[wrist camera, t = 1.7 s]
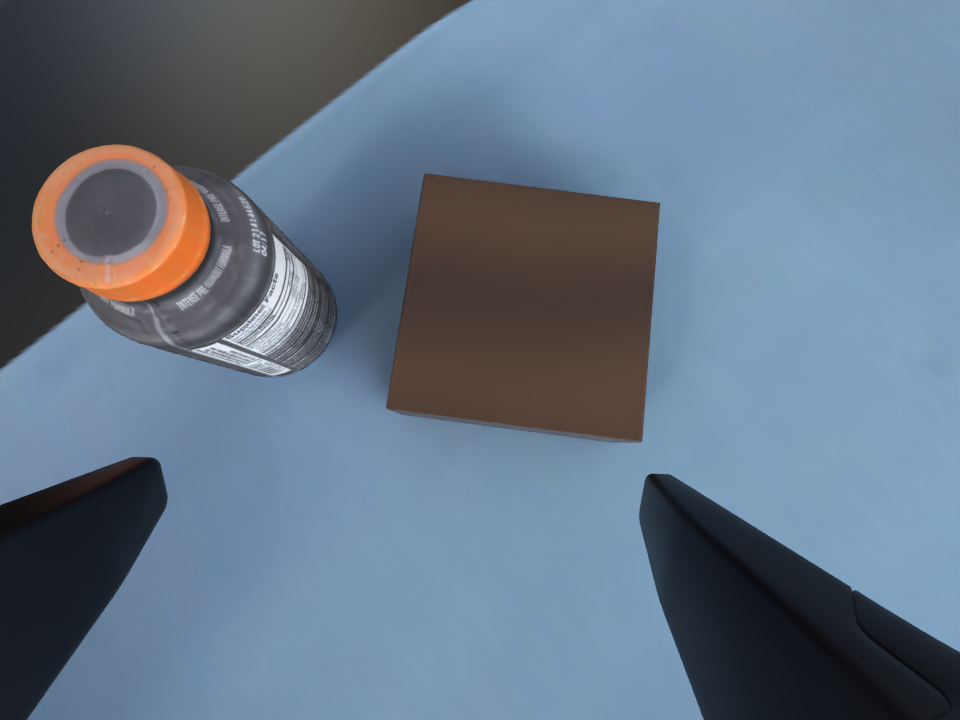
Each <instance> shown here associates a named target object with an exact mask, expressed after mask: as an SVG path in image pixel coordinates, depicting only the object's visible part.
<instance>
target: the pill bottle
mask: <svg viewBox="0 0 960 720" xmlns="http://www.w3.org/2000/svg"><path fill="white" fill-rule="evenodd" d="M32 233H33V237H34V241H35V244H36V247H37V250H38V252H39V254H40V255H41V258H42V259H43V260H44V261H45V262H46V263H47V265H48V266H49V267H50V268H51V269H52V270H53V271H54V272H55V273H56V274H58V275H59V276H61V277H62V278H64V279H66V280H67V281H69V282H71V283H74V284H76V285H78V286H80V289H81V292H82V294H83V296H84V298H85V300H86V302H87V303H88V305H89V306H90V307H91V309H92V310H93V312H94V313H95V314H96V315H97V316H98V317H99V318H100V319H101V320H102V321H103V322H104V323H105V324H106V325H107V326H108V327H110V328H111V329H112V330H114V331H115V332H117V333H119V334H120V335H122V336H124V337H126V338H128V339H131V340H133V341H136V342H138V343H141V344H144V345H148V346H152V347H155V348H158V349H161V350H165V351H168V352H171V353H175V354H179V355H183V356H186V357H190V358H194V359H197V360H200V361H205V362H208V363H212V364H215V365H219V366H223V367H227V368H230V369H233V370H237V371H240V372H244V373H248V374H251V375H255V376H261V377H281V376H286V375H290V374H293V373H296V372H298V371H300V370H302V369H304V368H306V367H307V366H309V365H310V364H312V363H313V362H314V361H315V360H316V359H317V358H318V357H319V356H320V355H321V354H322V353H323V352H324V350H325V349H326V347H327V345H328V344H329V342H330V340H331V338H332V336H333V334H334V330H335V326H336V319H337V309H336V302H335V298H334V295H333V292H332V289H331V287H330V286H329V284H328V283H327V281H326V280H325V278H324V277H323V275H322V274H321V273H320V272H319V271H318V270H317V269H316V268H315V267H314V266H313V264H312V263H311V262H310V261H309V260H308V259H307V258H306V256H305V255H304V254H303V253H302V252H301V251H300V250H299V249H298V248H297V247H296V246H295V245H294V244H293V243H292V242H291V241H290V240H289V239H288V238H287V237H286V236H285V235H284V233H283V232H282V231H281V230H280V229H279V228H278V227H277V226H276V225H275V224H274V223H273V222H272V221H271V220H270V219H269V218H268V217H267V216H266V215H265V213H264V212H263V211H262V210H261V209H260V208H259V207H258V206H257V205H256V204H255V203H254V202H253V201H252V200H251V199H250V198H249V197H248V196H247V195H246V194H245V193H244V192H243V191H242V190H240V189H239V188H238V187H237V186H235V185H234V184H233V183H231V182H230V181H228V180H226V179H224V178H223V177H220V176H218V175H216V174H214V173H211V172H209V171H206V170H202V169H198V168H193V167H184V166H170V165H168V164H167V163H166V162H164V161H163V160H161V159H160V158H159V157H158V156H156V155H154V154H152V153H150V152H147V151H145V150H142V149H140V148H137V147H134V146H127V145H105V146H100V147H95V148H91V149H88V150H86V151H83V152H81V153H78V154H76V155H75V156H72V157H71V158H69V159H68V160H67V161H66V162H64V163H63V164H61V165H60V166H59V167H58V168H57V169H56V170H55V171H54V172H53V173H52V174H51V175H50V176H49V178H48V179H47V180H46V182H45V183H44V185H43V186H42V188H41V190H40V191H39V194H38V196H37V198H36V201H35V204H34V209H33V214H32Z"/></svg>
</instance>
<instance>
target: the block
mask: <svg viewBox="0 0 960 720" xmlns="http://www.w3.org/2000/svg"><path fill="white" fill-rule="evenodd" d="M659 210H660V203H656V202H648V201H640V200H632V199H624V198H616V197H608V196H600V195H592V194H584V193H576V192H568V191H560V190H552V189H544V188H536V187H528V186H520V185H512V184H504V183H496V182H489V181H481V180H473V179H465V178H457V177H449V176H441V175H433V174H424V178H423V184H422V190H421V197H420V203H419V209H418V215H417V221H416V227H415V234H414V240H413V246H412V252H411V258H410V264H409V270H408V277H407V283H406V289H405V295H404V301H403V307H402V314H401V320H400V326H399V332H398V338H397V344H396V350H395V357H394V363H393V369H392V375H391V381H390V387H389V394H388V400H387V406H386V408H387V409H389V410H392V411H394V412H397V413H399V414H402V415H409V416H417V417H424V418H432V419H439V420H447V421H454V422H462V423H469V424H477V425H485V426H492V427H500V428H507V429H515V430H522V431H530V432H537V433H545V434H553V435H560V436H568V437H575V438H583V439H590V440H598V441H605V442H642V436H643V422H644V409H645V396H646V383H647V369H648V356H649V343H650V330H651V316H652V303H653V290H654V277H655V263H656V250H657V237H658V223H659Z"/></svg>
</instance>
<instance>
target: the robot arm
mask: <svg viewBox="0 0 960 720" xmlns="http://www.w3.org/2000/svg"><path fill="white" fill-rule="evenodd" d="M166 505H167V491H166V486H165V482H164V478H163V473H162V469H161V465H160V463H159V461H158V460H157V459H155V458H150V457H131V458H128V459H125V460H122V461H120V462H117V463H114V464H111V465H109V466H106V467H103V468H100V469H98V470H95V471H92V472H90V473H87V474H84V475H81V476H79V477H76V478H73V479H70V480H68V481H65V482H62V483H60V484H57V485H54V486H51V487H49V488H46V489H43V490H40V491H38V492H35V493H32V494H30V495H27V496H24V497H21V498H19V499H16V500H13V501H10V502H8V503H5V504H2V505H0V720H27V719H28V717H29V716H30V714H31V713H32V711H33V710H34V709H35V707H36V706H37V704H38V703H39V701H40V700H41V699H42V697H43V696H44V694H45V693H46V692H47V690H48V689H49V687H50V686H51V684H52V683H53V682H54V680H55V679H56V677H57V676H58V674H59V673H60V672H61V670H62V669H63V667H64V666H65V665H66V663H67V662H68V660H69V659H70V657H71V656H72V655H73V653H74V652H75V650H76V649H77V647H78V646H79V645H80V643H81V642H82V640H83V639H84V638H85V636H86V635H87V633H88V632H89V630H90V629H91V628H92V626H93V625H94V623H95V622H96V620H97V619H98V618H99V616H100V615H101V613H102V612H103V611H104V609H105V608H106V606H107V605H108V603H109V602H110V601H111V599H112V598H113V596H114V595H115V593H116V592H117V590H118V589H119V587H120V586H121V584H122V583H123V581H124V579H125V578H126V576H127V574H128V573H129V571H130V569H131V568H132V566H133V564H134V562H135V561H136V559H137V557H138V555H139V554H140V552H141V550H142V548H143V547H144V545H145V543H146V541H147V540H148V538H149V536H150V534H151V533H152V531H153V529H154V527H155V526H156V524H157V522H158V520H159V519H160V517H161V515H162V513H163V512H164V510H165V508H166ZM639 519H640V526H641V530H642V533H643V537H644V541H645V545H646V549H647V553H648V557H649V561H650V565H651V569H652V573H653V577H654V581H655V585H656V589H657V593H658V596H659V600H660V603H661V606H662V609H663V612H664V614H665V617H666V620H667V622H668V625H669V628H670V630H671V633H672V636H673V638H674V641H675V644H676V646H677V649H678V652H679V654H680V657H681V660H682V662H683V665H684V668H685V670H686V673H687V676H688V678H689V681H690V684H691V686H692V689H693V692H694V694H695V697H696V700H697V702H698V705H699V708H700V711H701V713H702V716H703V719H704V720H960V652H958V651H957V650H955V649H953V648H951V647H950V646H948V645H946V644H944V643H943V642H941V641H939V640H937V639H936V638H934V637H932V636H930V635H929V634H927V633H925V632H923V631H922V630H920V629H918V628H917V627H915V626H913V625H912V624H910V623H908V622H907V621H905V620H903V619H902V618H900V617H898V616H897V615H895V614H893V613H892V612H890V611H889V610H887V609H885V608H884V607H882V606H880V605H879V604H877V603H876V602H874V601H872V600H871V599H869V598H868V597H866V596H864V595H863V594H861V593H860V592H858V591H856V590H854V591H852V589H851V587H850V586H848V585H847V584H845V583H843V582H842V581H840V580H839V579H837V578H835V577H834V576H832V575H831V574H829V573H827V572H826V571H824V570H823V569H821V568H819V567H818V566H816V565H815V564H813V563H811V562H810V561H808V560H807V559H805V558H803V557H802V556H800V555H799V554H797V553H795V552H794V551H792V550H791V549H789V548H787V547H786V546H784V545H783V544H781V543H779V542H778V541H776V540H775V539H773V538H771V537H770V536H768V535H766V534H765V533H763V532H762V531H760V530H758V529H757V528H755V527H754V526H752V525H750V524H749V523H747V522H746V521H744V520H742V519H741V518H739V517H738V516H736V515H734V514H733V513H731V512H730V511H728V510H726V509H725V508H723V507H722V506H720V505H718V504H717V503H715V502H714V501H712V500H710V499H709V498H707V497H706V496H704V495H702V494H701V493H699V492H698V491H696V490H694V489H693V488H691V487H690V486H688V485H686V484H685V483H683V482H682V481H680V480H678V479H677V478H675V477H673V476H672V475H669V474H649V475H648V476H647V477H646V479H645V483H644V488H643V494H642V500H641V505H640V511H639Z"/></svg>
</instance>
